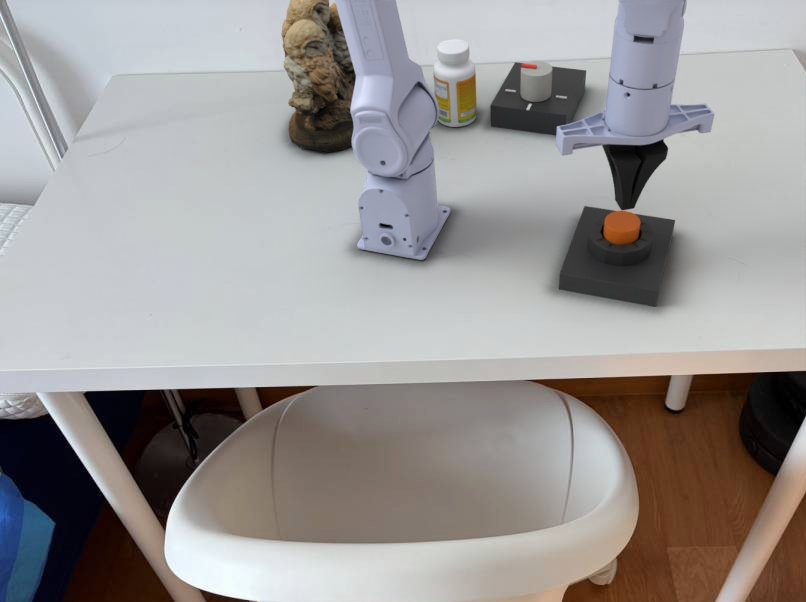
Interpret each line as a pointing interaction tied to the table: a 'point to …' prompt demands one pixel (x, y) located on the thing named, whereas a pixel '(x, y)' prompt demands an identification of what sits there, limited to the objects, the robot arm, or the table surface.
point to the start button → (621, 227)
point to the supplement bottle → (455, 84)
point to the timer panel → (543, 114)
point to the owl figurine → (318, 76)
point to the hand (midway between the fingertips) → (624, 203)
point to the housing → (617, 259)
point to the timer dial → (536, 81)
